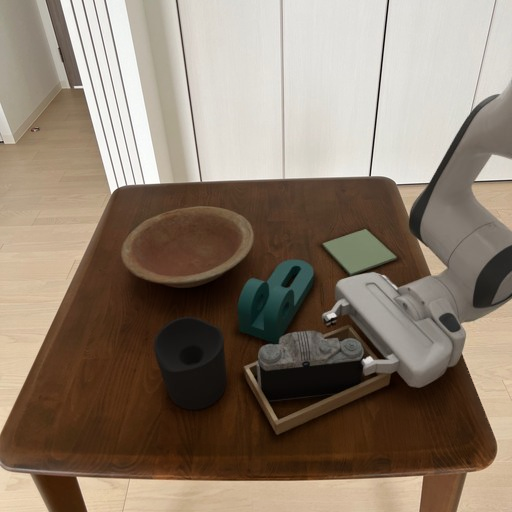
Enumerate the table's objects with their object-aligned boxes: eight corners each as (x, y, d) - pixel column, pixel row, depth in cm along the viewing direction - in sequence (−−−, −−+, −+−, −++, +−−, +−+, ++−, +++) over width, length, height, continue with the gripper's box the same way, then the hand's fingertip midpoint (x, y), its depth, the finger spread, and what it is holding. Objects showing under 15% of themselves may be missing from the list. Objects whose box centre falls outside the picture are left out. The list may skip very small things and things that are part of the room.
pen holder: (219, 353, 80) (212, 308, 73) (237, 401, 73) (231, 356, 66) (160, 371, 77) (148, 326, 71) (172, 422, 71) (160, 378, 64)
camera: (351, 355, 78) (356, 310, 71) (363, 392, 73) (369, 348, 66) (255, 365, 77) (251, 321, 71) (260, 404, 72) (256, 360, 66)
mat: (396, 259, 95) (396, 256, 94) (350, 276, 92) (350, 273, 92) (365, 231, 102) (365, 228, 102) (322, 245, 99) (322, 243, 99)
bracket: (277, 344, 80) (276, 309, 75) (239, 331, 83) (236, 296, 78) (318, 274, 93) (320, 240, 88) (284, 265, 95) (284, 231, 90)
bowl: (257, 230, 104) (255, 198, 99) (253, 316, 85) (250, 281, 80) (143, 233, 105) (135, 200, 100) (115, 317, 87) (104, 282, 82)
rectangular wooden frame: (389, 384, 74) (391, 373, 72) (276, 435, 68) (276, 425, 67) (348, 334, 81) (349, 324, 80) (244, 376, 76) (243, 366, 74)
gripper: (381, 255, 81) (305, 283, 77) (475, 342, 67) (388, 382, 62) (377, 284, 85) (305, 312, 81) (464, 372, 71) (382, 412, 67)
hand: (341, 343), depth 72 cm, fingers open, 8 cm apart
